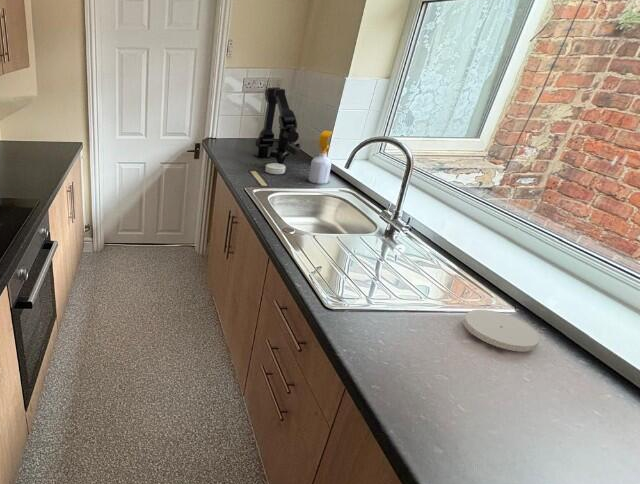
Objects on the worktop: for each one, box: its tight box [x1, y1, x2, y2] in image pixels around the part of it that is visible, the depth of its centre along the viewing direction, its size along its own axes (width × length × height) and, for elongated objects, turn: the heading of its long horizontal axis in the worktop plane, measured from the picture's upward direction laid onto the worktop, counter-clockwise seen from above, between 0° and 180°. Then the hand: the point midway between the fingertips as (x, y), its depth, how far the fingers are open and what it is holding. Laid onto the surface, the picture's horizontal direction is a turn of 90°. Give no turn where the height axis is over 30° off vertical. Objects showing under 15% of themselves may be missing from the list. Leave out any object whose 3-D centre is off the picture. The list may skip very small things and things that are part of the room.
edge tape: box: [249, 170, 269, 187], centre depth 212 cm, size 24×3×1 cm, turn 178°
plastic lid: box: [462, 309, 541, 353], centre depth 100 cm, size 14×14×2 cm
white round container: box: [264, 162, 287, 175], centre depth 221 cm, size 10×10×4 cm
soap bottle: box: [307, 130, 334, 185], centre depth 201 cm, size 9×9×25 cm
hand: (280, 167), depth 225 cm, fingers closed
